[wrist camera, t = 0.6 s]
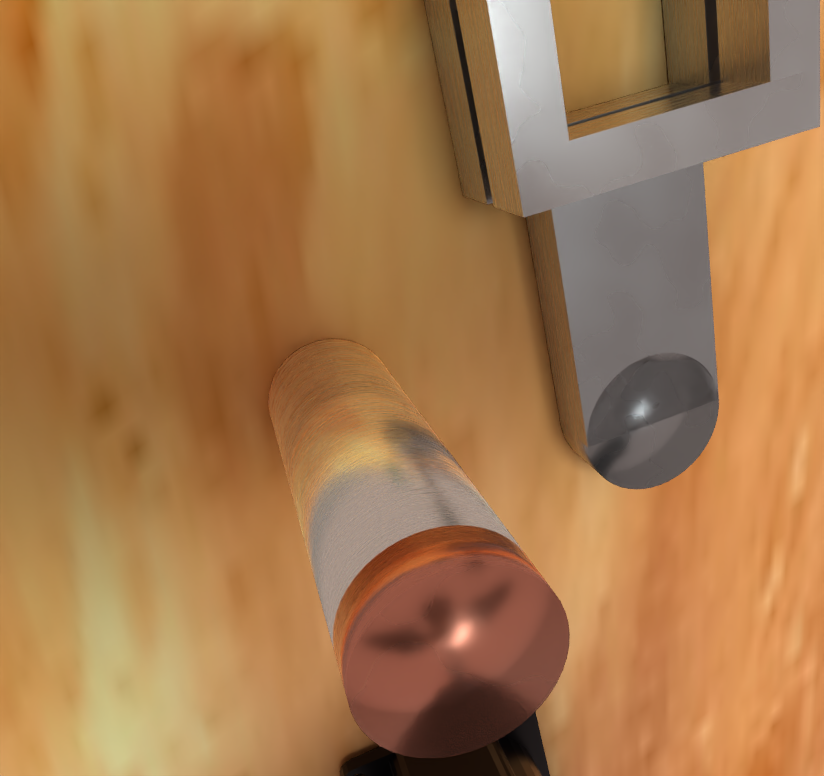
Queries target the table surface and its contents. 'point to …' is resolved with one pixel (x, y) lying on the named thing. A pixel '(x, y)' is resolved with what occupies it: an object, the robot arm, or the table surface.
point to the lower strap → (618, 274)
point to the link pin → (410, 563)
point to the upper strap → (638, 127)
